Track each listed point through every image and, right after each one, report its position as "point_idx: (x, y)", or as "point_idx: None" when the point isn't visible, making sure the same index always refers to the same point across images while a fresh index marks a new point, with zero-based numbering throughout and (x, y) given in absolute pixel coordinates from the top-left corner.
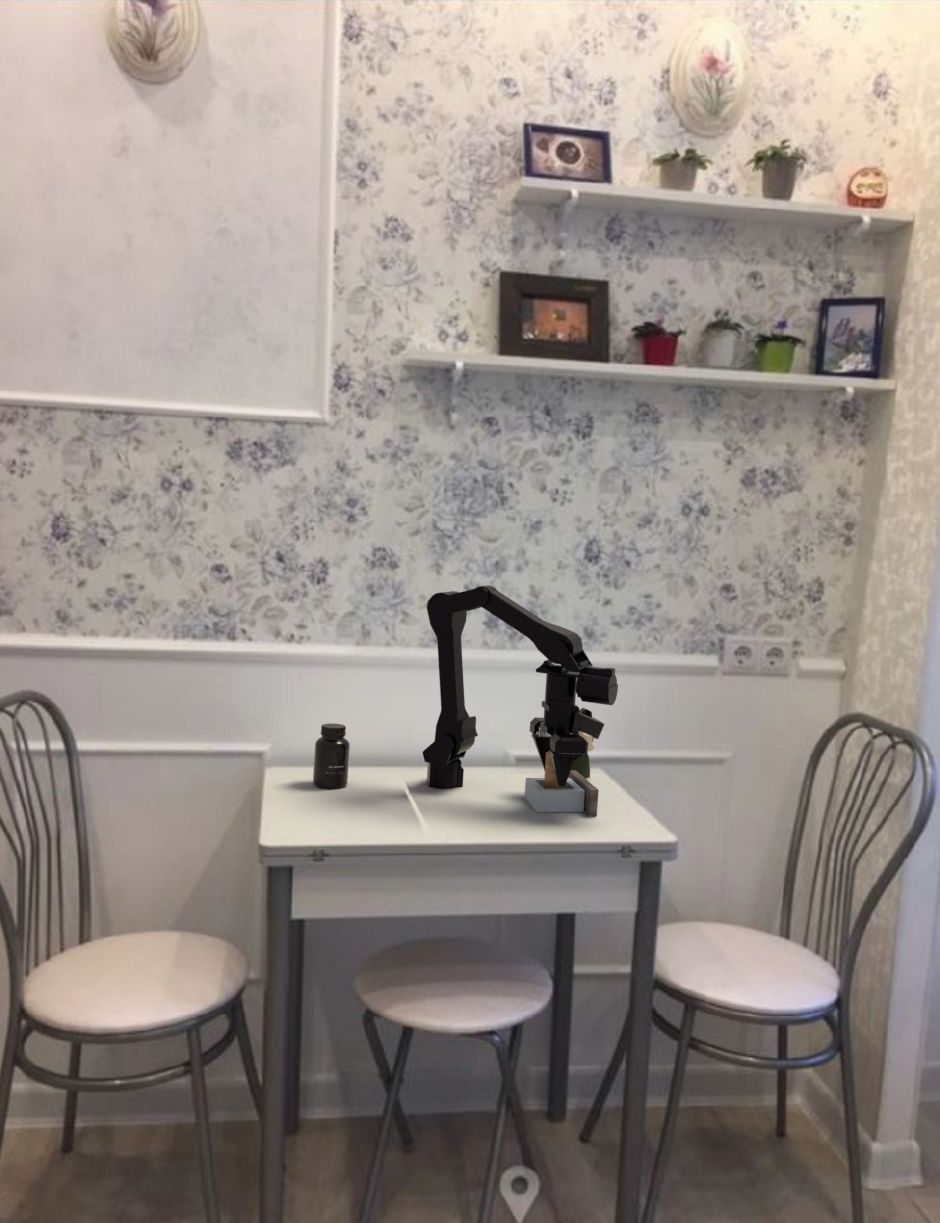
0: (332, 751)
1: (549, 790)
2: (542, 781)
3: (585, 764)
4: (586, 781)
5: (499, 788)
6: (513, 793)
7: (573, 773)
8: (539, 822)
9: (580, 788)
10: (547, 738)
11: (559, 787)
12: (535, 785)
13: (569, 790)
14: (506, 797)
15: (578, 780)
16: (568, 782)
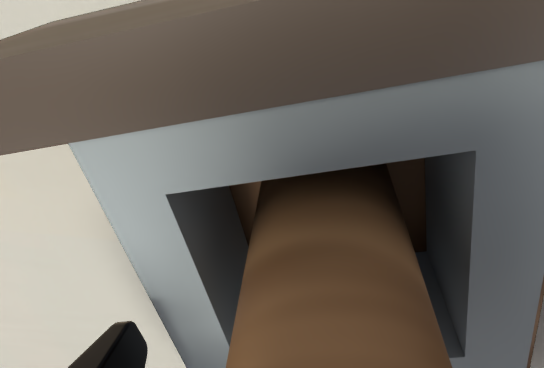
0: None
1: (516, 333)
2: (227, 328)
3: None
4: (368, 14)
5: (30, 333)
6: (77, 298)
7: (19, 135)
8: None
9: (469, 88)
10: None
11: (417, 262)
12: None
13: (536, 203)
14: (152, 324)
15: (267, 103)
16: (238, 177)
